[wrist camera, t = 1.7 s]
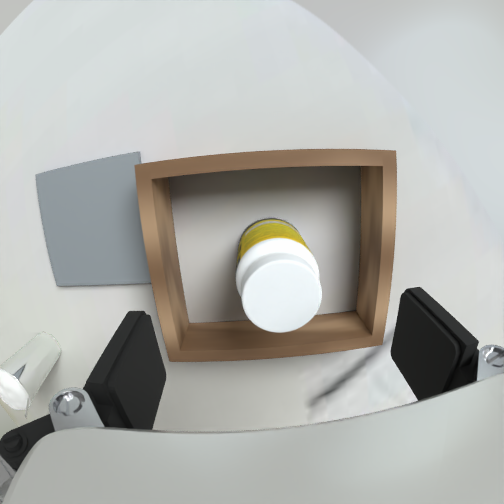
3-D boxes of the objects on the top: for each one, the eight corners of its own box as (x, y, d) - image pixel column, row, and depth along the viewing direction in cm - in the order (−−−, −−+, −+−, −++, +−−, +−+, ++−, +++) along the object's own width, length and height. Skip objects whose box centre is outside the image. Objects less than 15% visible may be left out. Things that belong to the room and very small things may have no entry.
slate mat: (157, 279, 23) (155, 282, 23) (59, 283, 23) (56, 286, 23) (140, 151, 20) (137, 151, 20) (38, 174, 20) (35, 174, 20)
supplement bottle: (228, 229, 22) (217, 272, 14) (289, 206, 22) (314, 236, 14) (252, 286, 23) (254, 350, 15) (310, 265, 23) (340, 320, 15)
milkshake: (74, 369, 26) (33, 433, 17) (36, 353, 26) (-9, 408, 16) (70, 336, 25) (19, 399, 15) (30, 320, 25) (-24, 373, 15)
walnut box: (365, 319, 25) (382, 344, 21) (179, 333, 25) (169, 361, 21) (372, 150, 20) (396, 150, 16) (153, 163, 20) (134, 164, 17)
